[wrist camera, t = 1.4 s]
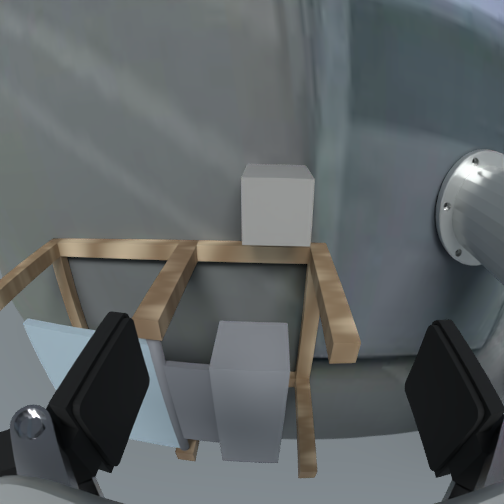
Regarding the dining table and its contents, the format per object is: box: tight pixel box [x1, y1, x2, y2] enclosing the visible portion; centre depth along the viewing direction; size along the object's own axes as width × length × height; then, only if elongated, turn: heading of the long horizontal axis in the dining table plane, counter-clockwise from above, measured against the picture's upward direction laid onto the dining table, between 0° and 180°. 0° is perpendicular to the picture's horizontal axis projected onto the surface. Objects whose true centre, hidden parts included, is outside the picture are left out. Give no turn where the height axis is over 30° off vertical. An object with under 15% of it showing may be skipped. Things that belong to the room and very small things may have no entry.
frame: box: [0, 239, 361, 478], centre depth 27 cm, size 30×19×14 cm, turn 90°
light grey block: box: [241, 164, 315, 247], centre depth 25 cm, size 5×5×6 cm
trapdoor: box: [23, 318, 290, 463], centre depth 24 cm, size 21×15×5 cm
